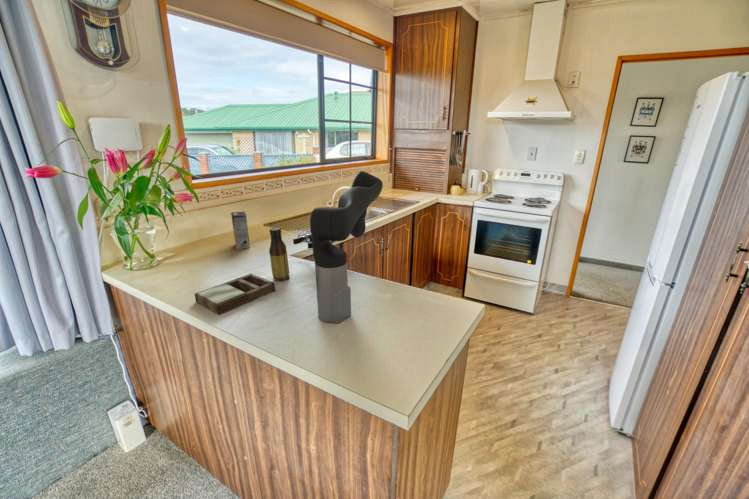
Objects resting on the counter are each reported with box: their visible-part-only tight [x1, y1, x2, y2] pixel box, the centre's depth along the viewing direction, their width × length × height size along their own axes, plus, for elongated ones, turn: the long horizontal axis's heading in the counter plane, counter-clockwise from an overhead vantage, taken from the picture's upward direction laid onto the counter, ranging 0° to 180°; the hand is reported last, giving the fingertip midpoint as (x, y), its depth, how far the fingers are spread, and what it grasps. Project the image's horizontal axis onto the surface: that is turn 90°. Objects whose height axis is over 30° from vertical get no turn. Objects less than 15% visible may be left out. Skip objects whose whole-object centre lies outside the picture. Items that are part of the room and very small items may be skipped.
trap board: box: [194, 273, 276, 316], centre depth 116 cm, size 14×21×3 cm, turn 143°
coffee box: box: [230, 211, 251, 250], centre depth 165 cm, size 9×6×16 cm
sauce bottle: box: [268, 226, 290, 282], centre depth 127 cm, size 7×6×20 cm
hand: (300, 243), depth 135 cm, fingers open, 8 cm apart
